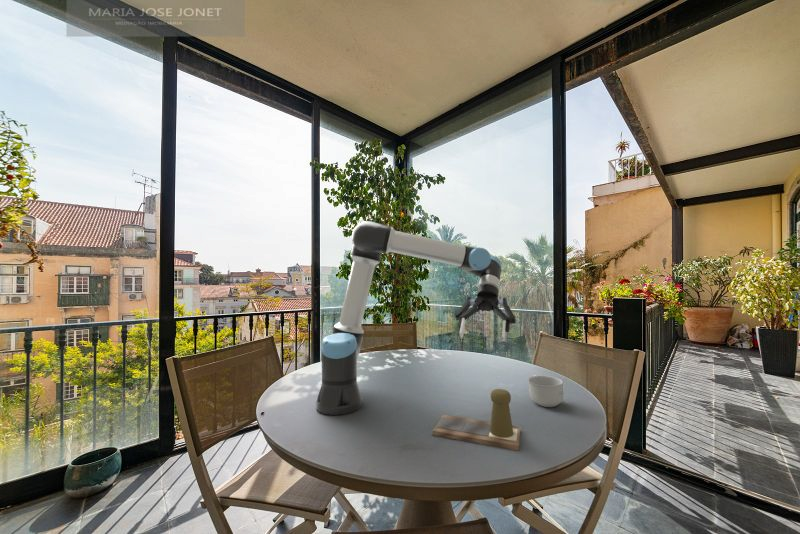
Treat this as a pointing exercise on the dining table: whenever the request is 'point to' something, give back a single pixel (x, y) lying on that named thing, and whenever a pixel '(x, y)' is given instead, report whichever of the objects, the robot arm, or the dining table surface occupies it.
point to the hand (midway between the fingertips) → (481, 337)
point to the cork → (501, 414)
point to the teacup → (546, 390)
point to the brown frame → (474, 432)
